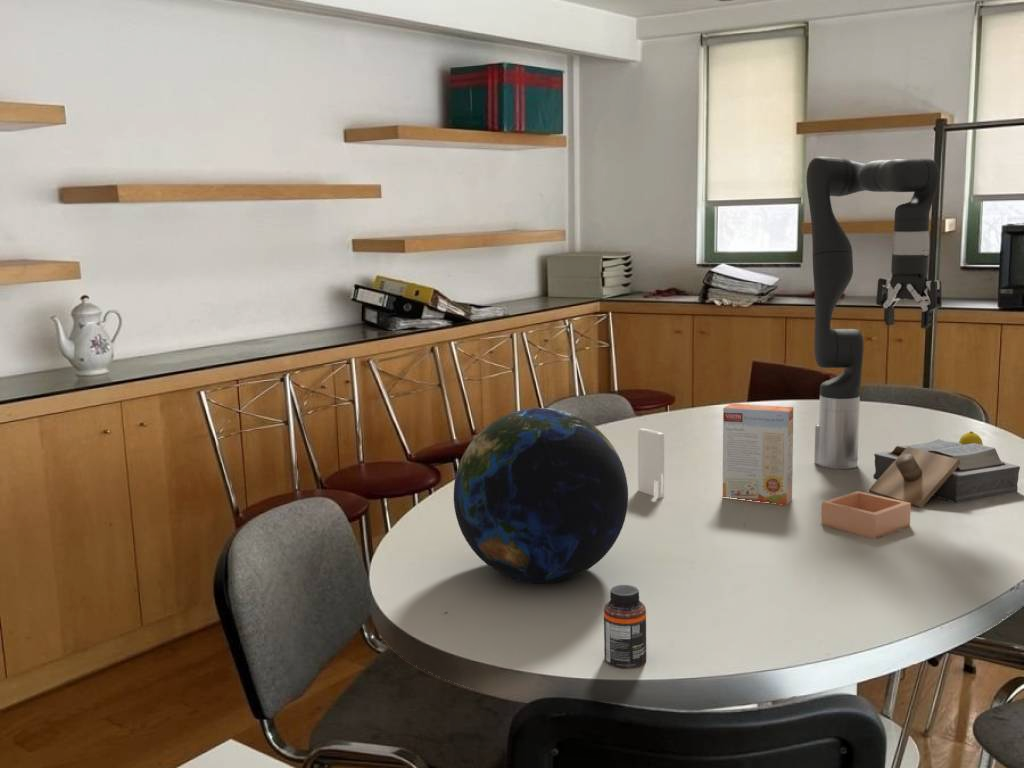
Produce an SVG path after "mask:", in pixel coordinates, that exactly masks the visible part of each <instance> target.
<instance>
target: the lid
mask: <svg viewBox="0 0 1024 768" xmlns="http://www.w3.org/2000/svg"><path fill="white" fill-rule="evenodd" d="M960 464H961V463H960V461H959V459H955V458H951V457H947V456H943V455H939V454H935V453H931V452H927V451H923V450H919V449H915V448H911V447H907V448H906V449H905V450H904V451H903V452H902V453H901V454H900V456H899V457H898V458H897V459H896V460H895V461H894V462H893V463H892V464H891V465H890V467H889V468H888V469H887V470H886V471H885V472H884V473H883V474H882V475H881V477H880V478H879V479H877V480H876V481H875V482H874V483H873V484H872V485H871V486H870V487H869V488H868V491H869V493H871V494H872V493H873V494H874V495H878V496H882V497H887V498H891V499H895V500H900V501H904V502H909V503H911V507H912V506H913V507H915V508H920V509H922V508H923V507H924V506H925V505H926V504H927V503H928V502H929V500H931V498H932V497H934V496H933V495H934V493H935V492H936V491H937V490H938V489H939V488H940V487H941V486H942V484H943V483H944V482H945V481H946V480H947V479H948V478H949V476H950V475H951V474H952V473H953V472H954V471H955V470H956V469H957V467H958V466H959V465H960Z"/></svg>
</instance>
